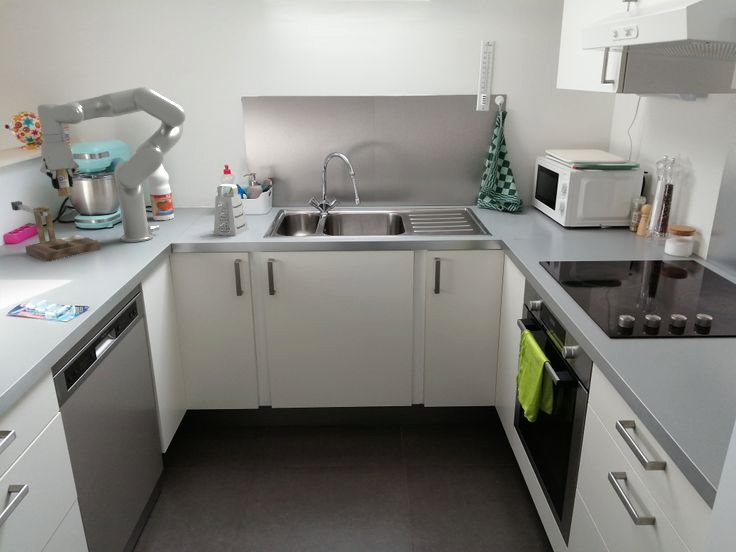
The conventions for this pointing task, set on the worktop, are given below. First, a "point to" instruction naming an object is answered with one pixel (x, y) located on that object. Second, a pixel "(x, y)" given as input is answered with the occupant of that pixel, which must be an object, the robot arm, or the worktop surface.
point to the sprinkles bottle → (63, 182)
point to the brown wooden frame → (57, 241)
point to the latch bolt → (25, 208)
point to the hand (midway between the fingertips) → (63, 187)
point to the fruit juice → (160, 195)
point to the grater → (229, 212)
